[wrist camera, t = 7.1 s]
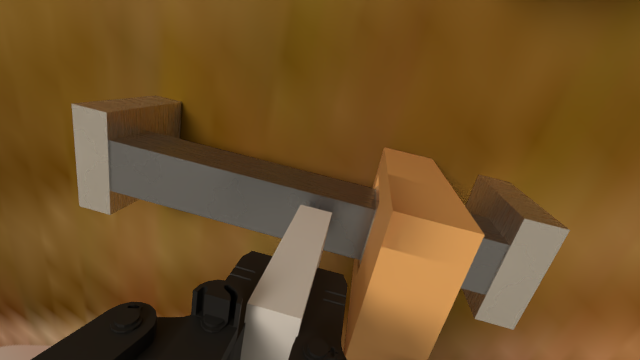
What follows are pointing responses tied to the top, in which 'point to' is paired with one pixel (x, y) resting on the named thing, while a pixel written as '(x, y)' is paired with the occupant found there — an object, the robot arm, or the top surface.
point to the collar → (409, 262)
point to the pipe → (294, 198)
